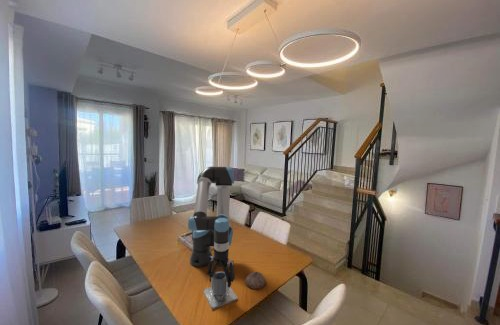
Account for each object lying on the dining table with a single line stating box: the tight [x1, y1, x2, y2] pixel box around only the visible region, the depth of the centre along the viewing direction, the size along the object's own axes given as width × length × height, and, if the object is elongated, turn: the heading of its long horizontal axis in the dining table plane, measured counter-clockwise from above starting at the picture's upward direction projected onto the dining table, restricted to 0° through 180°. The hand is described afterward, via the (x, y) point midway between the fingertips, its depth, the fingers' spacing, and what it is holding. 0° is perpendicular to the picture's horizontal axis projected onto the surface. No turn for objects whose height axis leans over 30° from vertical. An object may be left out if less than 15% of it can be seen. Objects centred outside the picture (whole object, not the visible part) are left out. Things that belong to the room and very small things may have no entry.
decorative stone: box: [244, 271, 266, 290], centre depth 120 cm, size 12×12×6 cm
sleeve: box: [213, 270, 227, 295], centre depth 108 cm, size 8×8×8 cm
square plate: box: [202, 286, 239, 310], centre depth 109 cm, size 14×14×6 cm
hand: (220, 289), depth 109 cm, fingers closed on sleeve, 8 cm apart
